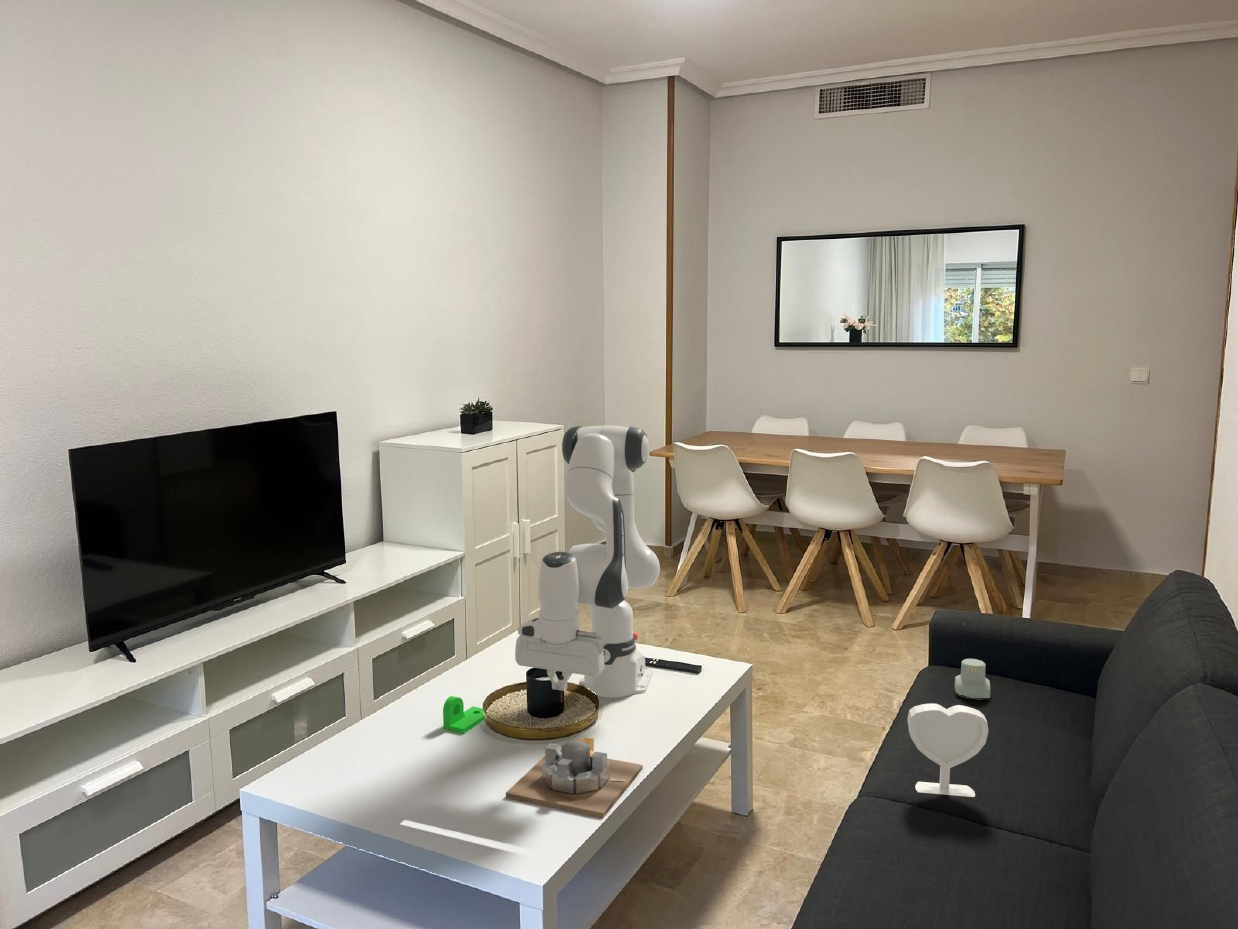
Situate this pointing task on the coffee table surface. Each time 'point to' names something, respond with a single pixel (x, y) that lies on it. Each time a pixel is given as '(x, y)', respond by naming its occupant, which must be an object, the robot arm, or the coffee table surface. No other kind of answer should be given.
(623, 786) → the base plate
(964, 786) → the heart sculpture
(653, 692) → the coffee table surface
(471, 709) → the mechanical part
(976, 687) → the air freshener
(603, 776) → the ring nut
